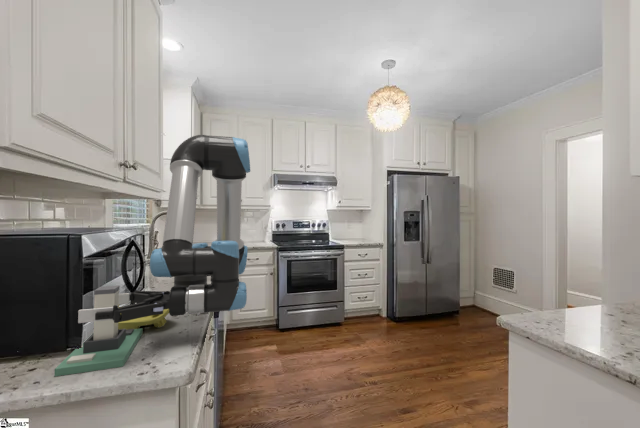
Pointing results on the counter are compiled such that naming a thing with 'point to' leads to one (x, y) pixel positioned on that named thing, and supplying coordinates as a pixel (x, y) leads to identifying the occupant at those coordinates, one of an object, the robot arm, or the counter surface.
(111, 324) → the plug
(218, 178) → the robot arm
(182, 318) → the counter surface
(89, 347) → the board
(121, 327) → the plastic component
